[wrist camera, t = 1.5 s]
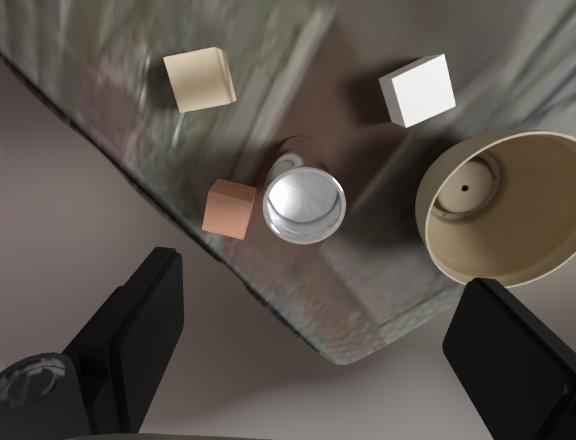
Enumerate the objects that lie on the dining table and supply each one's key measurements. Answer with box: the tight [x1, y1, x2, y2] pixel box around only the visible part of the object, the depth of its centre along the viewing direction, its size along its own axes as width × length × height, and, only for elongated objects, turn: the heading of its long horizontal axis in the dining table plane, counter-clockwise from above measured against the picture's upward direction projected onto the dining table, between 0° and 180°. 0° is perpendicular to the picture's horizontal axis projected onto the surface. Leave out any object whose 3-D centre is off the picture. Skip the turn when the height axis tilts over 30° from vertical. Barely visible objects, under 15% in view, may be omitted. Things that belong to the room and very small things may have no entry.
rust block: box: [202, 178, 257, 240], centre depth 38 cm, size 5×5×5 cm
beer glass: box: [263, 136, 346, 244], centre depth 31 cm, size 7×7×15 cm
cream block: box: [379, 54, 456, 128], centre depth 32 cm, size 5×5×5 cm
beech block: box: [163, 47, 236, 113], centre depth 32 cm, size 5×5×5 cm
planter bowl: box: [415, 130, 576, 288], centre depth 34 cm, size 16×16×11 cm
